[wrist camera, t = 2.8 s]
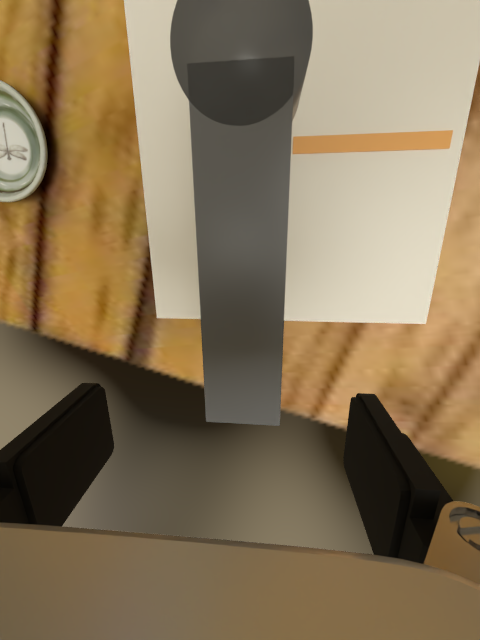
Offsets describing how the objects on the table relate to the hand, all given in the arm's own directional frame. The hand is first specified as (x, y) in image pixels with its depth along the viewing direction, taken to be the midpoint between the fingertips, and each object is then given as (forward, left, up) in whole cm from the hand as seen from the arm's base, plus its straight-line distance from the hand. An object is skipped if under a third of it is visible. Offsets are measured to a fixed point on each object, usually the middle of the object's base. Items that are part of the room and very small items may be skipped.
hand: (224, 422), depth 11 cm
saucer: (-14, -23, -20) cm, 33 cm away
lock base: (-11, +3, -19) cm, 23 cm away
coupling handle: (-6, 0, -10) cm, 12 cm away
